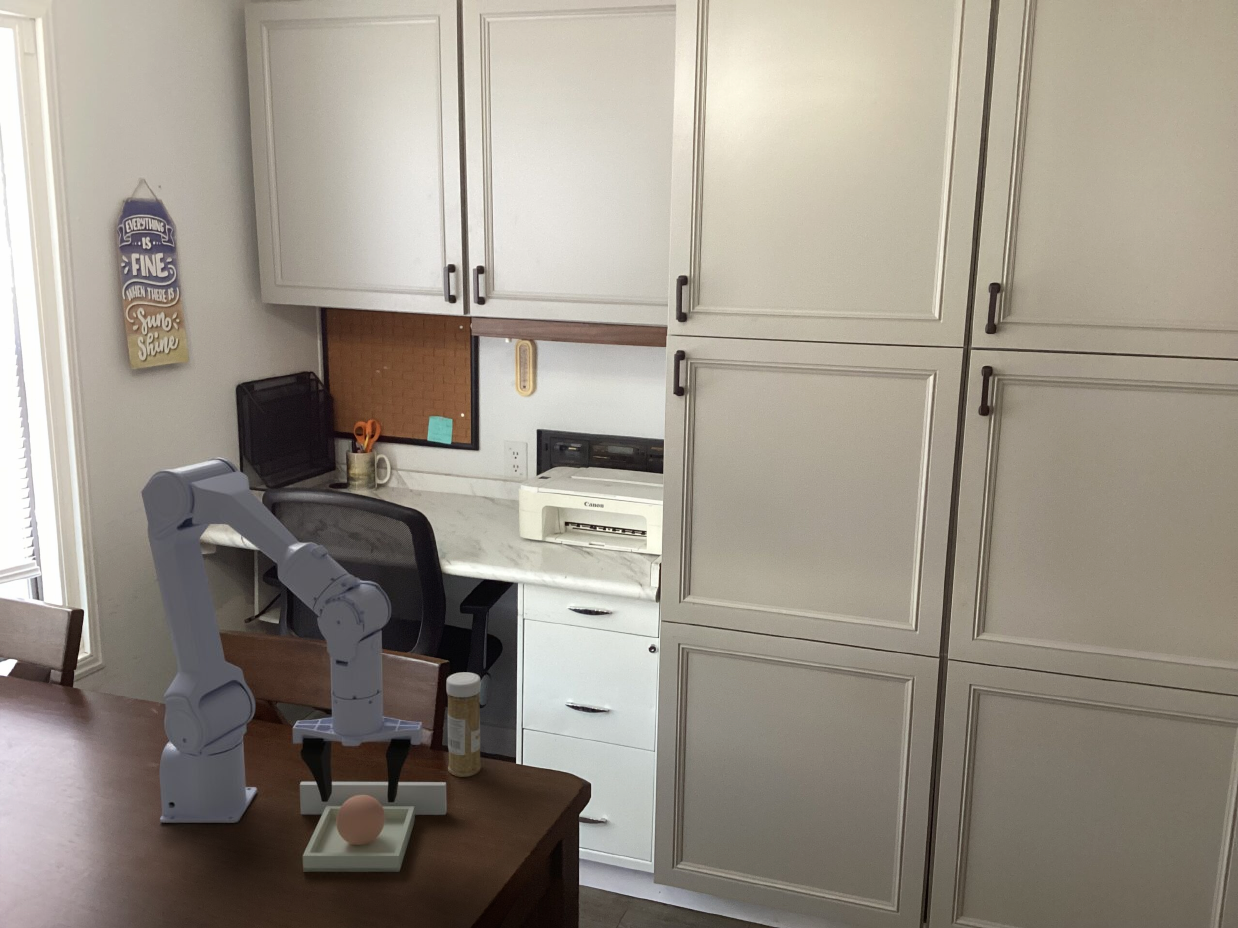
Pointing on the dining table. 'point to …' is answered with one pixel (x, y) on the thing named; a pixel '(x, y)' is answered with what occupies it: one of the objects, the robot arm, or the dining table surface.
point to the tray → (375, 856)
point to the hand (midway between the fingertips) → (359, 797)
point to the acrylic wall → (377, 796)
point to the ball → (360, 819)
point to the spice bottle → (463, 723)
